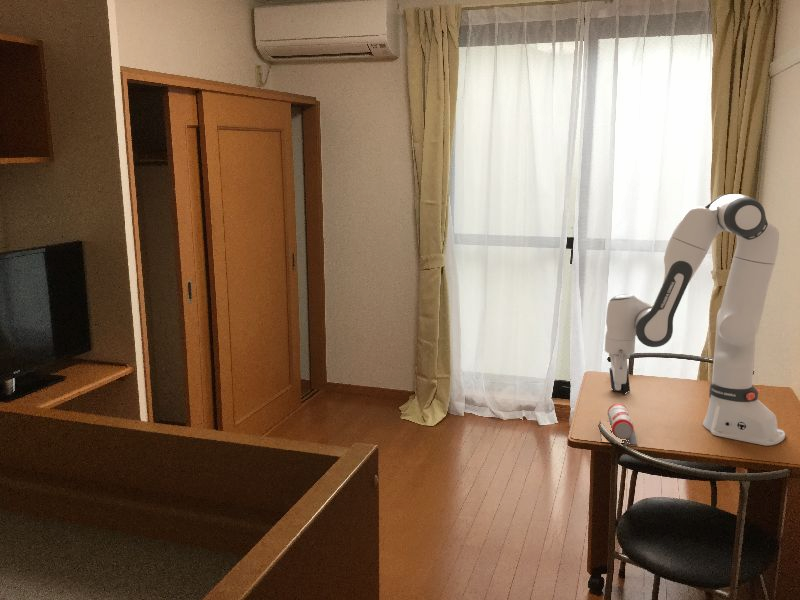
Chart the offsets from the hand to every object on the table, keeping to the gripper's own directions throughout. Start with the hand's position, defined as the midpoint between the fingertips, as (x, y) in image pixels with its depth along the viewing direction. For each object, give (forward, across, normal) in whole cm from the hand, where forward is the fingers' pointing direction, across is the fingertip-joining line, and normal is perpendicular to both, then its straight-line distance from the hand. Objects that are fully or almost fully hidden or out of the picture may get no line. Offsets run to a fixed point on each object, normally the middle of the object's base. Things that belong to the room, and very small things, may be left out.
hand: (617, 388), depth 217 cm
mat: (+11, -9, 0) cm, 14 cm away
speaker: (+11, +32, -2) cm, 34 cm away
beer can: (+8, 0, 0) cm, 8 cm away
